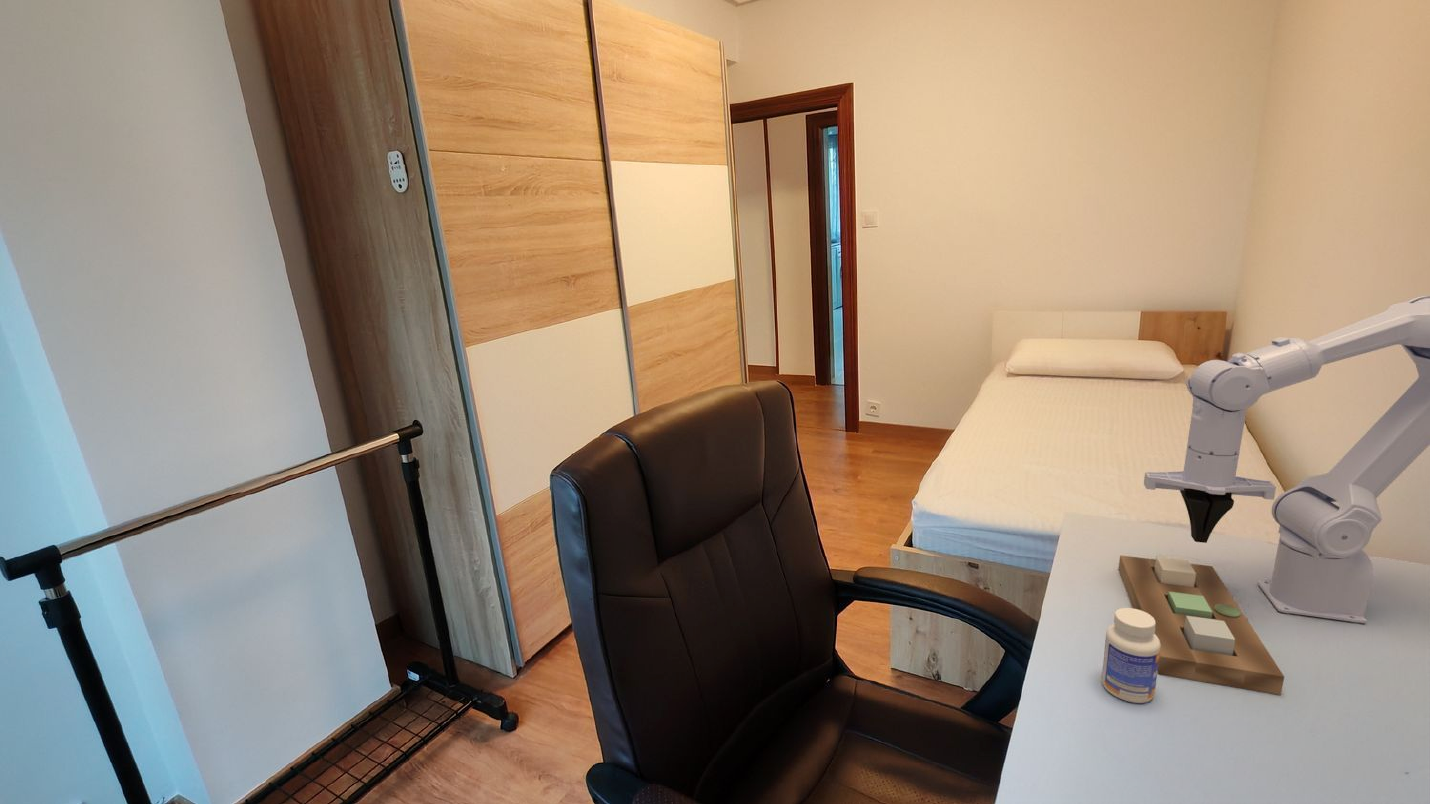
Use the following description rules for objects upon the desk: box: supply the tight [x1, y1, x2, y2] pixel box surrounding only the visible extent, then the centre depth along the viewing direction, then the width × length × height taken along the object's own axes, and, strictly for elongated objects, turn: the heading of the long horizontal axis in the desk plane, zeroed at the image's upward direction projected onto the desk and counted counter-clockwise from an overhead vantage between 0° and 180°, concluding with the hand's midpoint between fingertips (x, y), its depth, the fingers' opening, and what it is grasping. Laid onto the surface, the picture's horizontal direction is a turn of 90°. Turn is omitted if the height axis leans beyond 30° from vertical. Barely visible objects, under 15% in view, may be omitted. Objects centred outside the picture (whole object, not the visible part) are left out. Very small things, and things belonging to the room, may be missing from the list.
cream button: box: [1154, 556, 1196, 587], centre depth 95 cm, size 4×4×3 cm
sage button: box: [1167, 592, 1213, 619], centre depth 88 cm, size 4×4×3 cm
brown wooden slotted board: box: [1118, 555, 1285, 696], centre depth 88 cm, size 12×26×3 cm, turn 158°
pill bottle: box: [1101, 607, 1161, 704], centre depth 76 cm, size 5×5×10 cm
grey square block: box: [1183, 616, 1235, 656], centre depth 81 cm, size 4×4×3 cm
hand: (1198, 539), depth 92 cm, fingers closed
